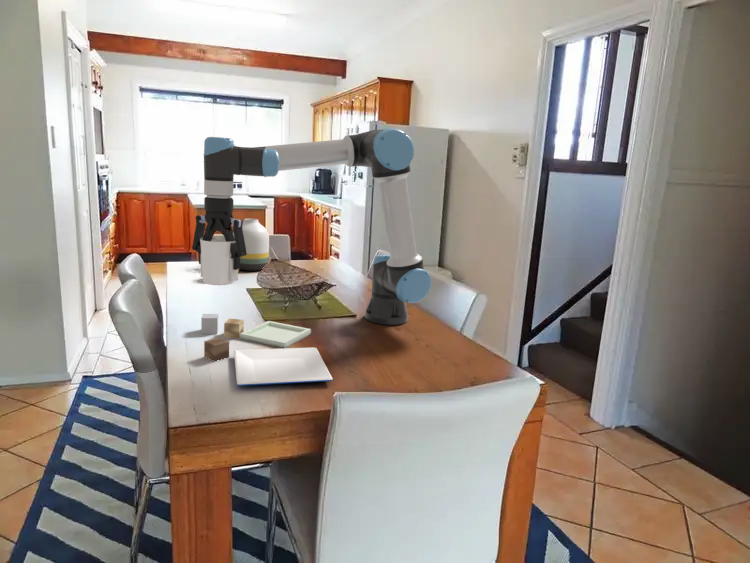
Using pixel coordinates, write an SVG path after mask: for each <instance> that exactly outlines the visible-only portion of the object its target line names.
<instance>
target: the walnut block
mask: <svg viewBox="0 0 750 563" xmlns="http://www.w3.org/2000/svg"><path fill="white" fill-rule="evenodd" d="M203 342H204V345H203V347H204V348H203V351H204V352H203V353H204V354H203V356H204V358H205V357H207V358H206V359H208V358H209V359H208V360H210V359H211V360H210V361H212V360H214V361H216V362H218V361H217V360H219V361H222V360H225V359H224V358H226V359H228V357H229V358H230V341H228V340H226V339H223V338H221V337H216V338H212V339H208V340H204V341H203ZM221 359H222V360H221ZM214 361H213V362H214Z"/></svg>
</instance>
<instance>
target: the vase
mask: <svg viewBox="0 0 750 563" xmlns="http://www.w3.org/2000/svg"><path fill="white" fill-rule="evenodd" d="M242 230H243V235H244V241H245V246H246V252H247V255H245V256H242V257H241V258H240V269H239V270H241V271H248V272H249V271H252V272H254V271H262V270H263V269H262V268H263V267H264V266H265V265H266V264H267V265H268V264H269V259H270V258H269V255H270V234H269V231H268V229H267V228H266V227H265V226H264V225H262V224H261V223H260V222H259V219H258V218H244V219H243V225H242ZM233 235H234V232H233ZM234 238H235V237H234ZM261 269H262V270H261Z"/></svg>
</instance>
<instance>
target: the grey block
mask: <svg viewBox="0 0 750 563" xmlns="http://www.w3.org/2000/svg"><path fill="white" fill-rule="evenodd" d="M200 323H201V324H200V325H201V329H200V330H201V335H217V334H218V332H219V314H218V313H203V314H202V315H201V322H200Z"/></svg>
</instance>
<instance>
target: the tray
mask: <svg viewBox="0 0 750 563" xmlns="http://www.w3.org/2000/svg"><path fill="white" fill-rule="evenodd" d="M311 334H312V329H311V328H307V327H303V326H297V325H292V324H288V323H282V322H281V323H280V322H276V321H272V320H267V321H265V322H263V323H260V324H258V325H256V326H254V327H251V328H248V329H247V330H245V331H243V332H242V333H240V338H239V339H240V340H243V341H248V342H252V343H256V344H258V343H259V344H263V345H267V346H270V347H271V346H272V347H276V348H280V349H284V348H289V347H290V346H292V345H293V344H296V343H297V342H299V341H301V340H303V339H305V338H306V337H308V336H310V335H311Z"/></svg>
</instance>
